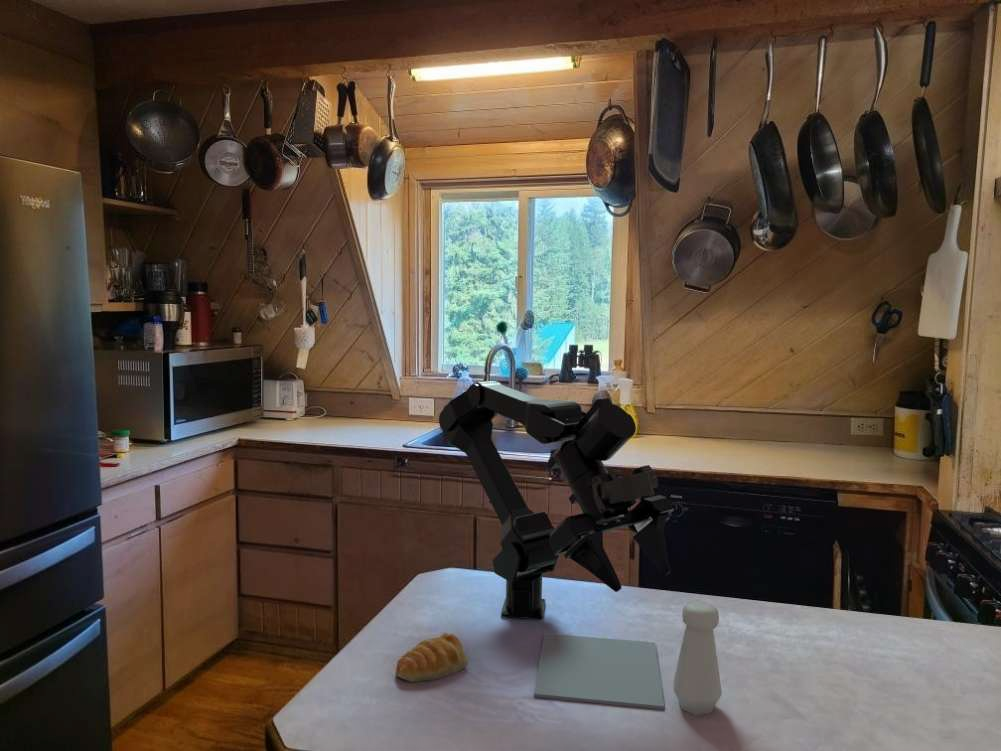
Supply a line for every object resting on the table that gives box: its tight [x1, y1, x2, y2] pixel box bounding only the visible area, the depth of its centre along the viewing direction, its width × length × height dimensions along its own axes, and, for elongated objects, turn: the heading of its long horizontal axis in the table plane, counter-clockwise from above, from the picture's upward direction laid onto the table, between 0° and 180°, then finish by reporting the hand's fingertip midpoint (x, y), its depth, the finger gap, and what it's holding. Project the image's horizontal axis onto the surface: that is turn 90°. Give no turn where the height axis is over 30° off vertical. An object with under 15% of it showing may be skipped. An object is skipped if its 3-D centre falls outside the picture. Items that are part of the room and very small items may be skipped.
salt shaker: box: [672, 600, 723, 716], centre depth 87 cm, size 6×6×13 cm
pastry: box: [395, 632, 468, 683], centre depth 96 cm, size 9×7×4 cm
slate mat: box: [533, 632, 665, 710], centre depth 96 cm, size 16×16×1 cm
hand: (644, 581), depth 92 cm, fingers open, 9 cm apart
